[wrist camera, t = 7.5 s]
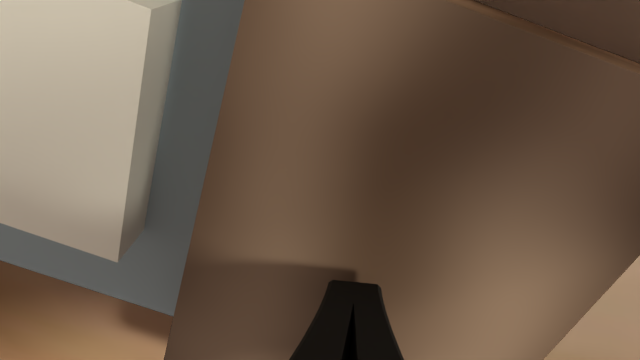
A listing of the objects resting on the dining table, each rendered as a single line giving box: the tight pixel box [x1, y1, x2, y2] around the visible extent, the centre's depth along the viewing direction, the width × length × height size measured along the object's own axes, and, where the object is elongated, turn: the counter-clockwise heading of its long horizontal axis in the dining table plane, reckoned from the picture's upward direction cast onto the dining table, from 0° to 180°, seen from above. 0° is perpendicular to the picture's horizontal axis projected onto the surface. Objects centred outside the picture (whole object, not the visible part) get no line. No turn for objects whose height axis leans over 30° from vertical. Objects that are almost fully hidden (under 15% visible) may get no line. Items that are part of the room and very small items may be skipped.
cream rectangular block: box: [0, 0, 182, 263], centre depth 14 cm, size 6×9×2 cm, turn 161°
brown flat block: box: [164, 0, 640, 360], centre depth 14 cm, size 11×16×4 cm
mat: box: [0, 0, 245, 317], centre depth 15 cm, size 14×16×1 cm
